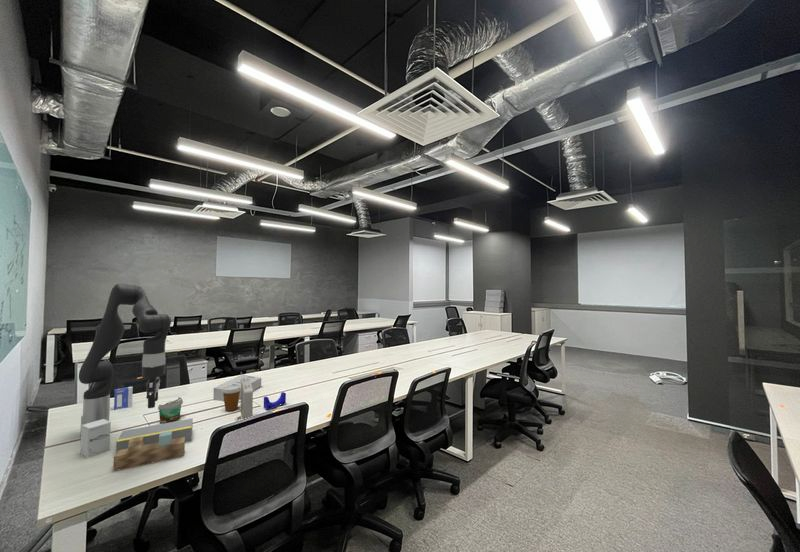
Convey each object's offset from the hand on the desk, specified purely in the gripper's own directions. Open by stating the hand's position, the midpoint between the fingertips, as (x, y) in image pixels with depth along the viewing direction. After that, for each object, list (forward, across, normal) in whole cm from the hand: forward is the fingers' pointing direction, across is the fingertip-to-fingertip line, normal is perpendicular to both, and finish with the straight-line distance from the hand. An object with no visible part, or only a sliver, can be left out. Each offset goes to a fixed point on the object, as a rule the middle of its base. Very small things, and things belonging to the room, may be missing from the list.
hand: (152, 404), depth 129 cm
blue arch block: (+23, -37, +54) cm, 69 cm away
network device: (+23, -20, +36) cm, 47 cm away
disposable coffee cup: (+23, -45, +31) cm, 59 cm away
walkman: (+22, -76, -22) cm, 82 cm away
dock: (+22, -17, 0) cm, 28 cm away
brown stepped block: (+23, 0, 0) cm, 23 cm away
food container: (+23, -42, +4) cm, 48 cm away
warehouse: (+23, -74, +37) cm, 86 cm away
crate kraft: (+17, 0, -5) cm, 17 cm away
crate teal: (+17, 0, +4) cm, 17 cm away
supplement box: (+23, -19, -21) cm, 36 cm away
